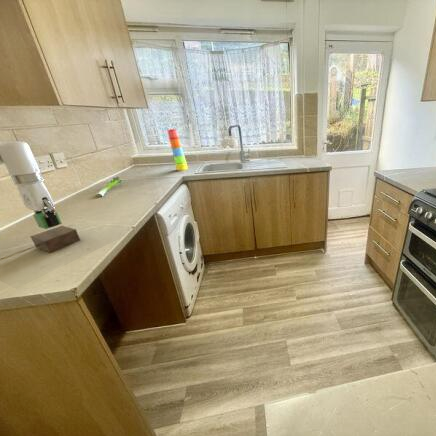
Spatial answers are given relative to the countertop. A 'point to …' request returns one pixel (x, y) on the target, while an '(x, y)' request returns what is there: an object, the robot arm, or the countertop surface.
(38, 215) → the toy block
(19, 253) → the countertop surface
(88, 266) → the countertop surface
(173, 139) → the stacking cups
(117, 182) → the leek
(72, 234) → the walnut block
